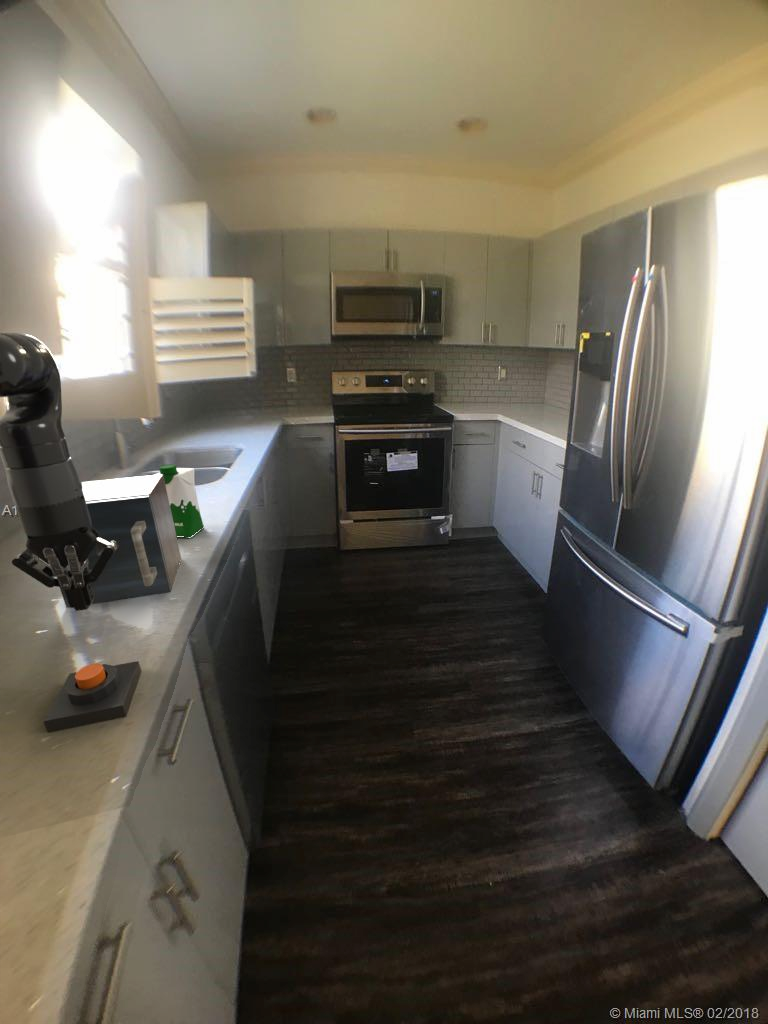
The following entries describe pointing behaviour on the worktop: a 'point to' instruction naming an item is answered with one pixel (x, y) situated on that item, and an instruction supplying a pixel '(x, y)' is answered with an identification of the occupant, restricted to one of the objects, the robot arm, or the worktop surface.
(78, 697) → the panel
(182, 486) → the milk carton
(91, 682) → the release button
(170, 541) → the cupboard
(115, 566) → the door
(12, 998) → the worktop surface
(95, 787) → the worktop surface
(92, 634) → the worktop surface
